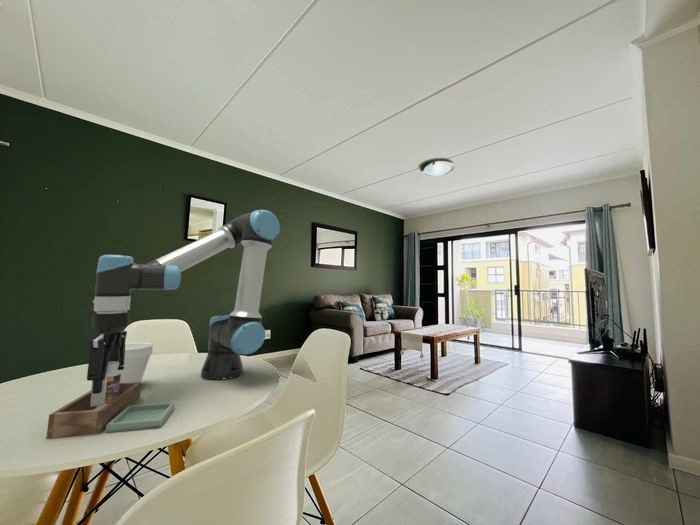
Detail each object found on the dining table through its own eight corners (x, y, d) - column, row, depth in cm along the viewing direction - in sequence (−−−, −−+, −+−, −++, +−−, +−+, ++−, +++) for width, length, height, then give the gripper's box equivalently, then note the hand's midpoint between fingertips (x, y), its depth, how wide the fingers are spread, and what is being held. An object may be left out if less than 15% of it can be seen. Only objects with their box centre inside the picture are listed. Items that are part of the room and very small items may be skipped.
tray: (174, 409, 79) (174, 402, 79) (159, 427, 68) (160, 420, 69) (128, 412, 76) (128, 405, 76) (105, 432, 65) (106, 424, 66)
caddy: (139, 398, 85) (141, 381, 86) (100, 433, 65) (103, 410, 66) (100, 401, 82) (102, 383, 83) (46, 438, 62) (49, 414, 63)
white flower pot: (136, 393, 89) (140, 349, 90) (92, 395, 87) (97, 349, 88) (156, 381, 101) (160, 342, 102) (118, 382, 99) (122, 342, 100)
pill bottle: (101, 407, 71) (105, 367, 72) (84, 405, 72) (87, 365, 73) (124, 398, 77) (126, 361, 77) (107, 396, 78) (110, 359, 79)
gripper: (113, 309, 84) (107, 388, 82) (71, 316, 66) (62, 418, 65) (142, 308, 86) (136, 386, 85) (109, 315, 68) (101, 414, 67)
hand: (104, 400), depth 75 cm, fingers closed on pill bottle, 6 cm apart
